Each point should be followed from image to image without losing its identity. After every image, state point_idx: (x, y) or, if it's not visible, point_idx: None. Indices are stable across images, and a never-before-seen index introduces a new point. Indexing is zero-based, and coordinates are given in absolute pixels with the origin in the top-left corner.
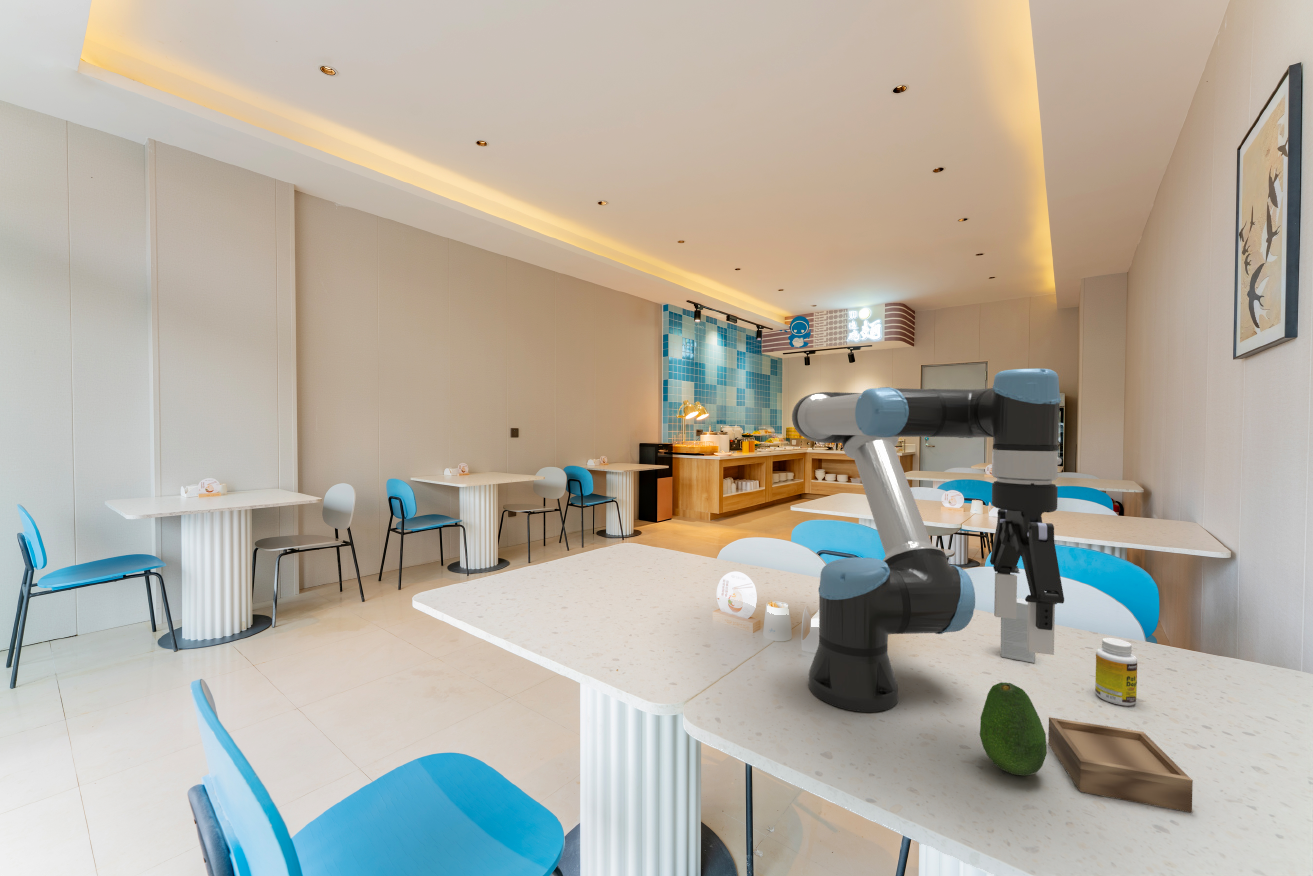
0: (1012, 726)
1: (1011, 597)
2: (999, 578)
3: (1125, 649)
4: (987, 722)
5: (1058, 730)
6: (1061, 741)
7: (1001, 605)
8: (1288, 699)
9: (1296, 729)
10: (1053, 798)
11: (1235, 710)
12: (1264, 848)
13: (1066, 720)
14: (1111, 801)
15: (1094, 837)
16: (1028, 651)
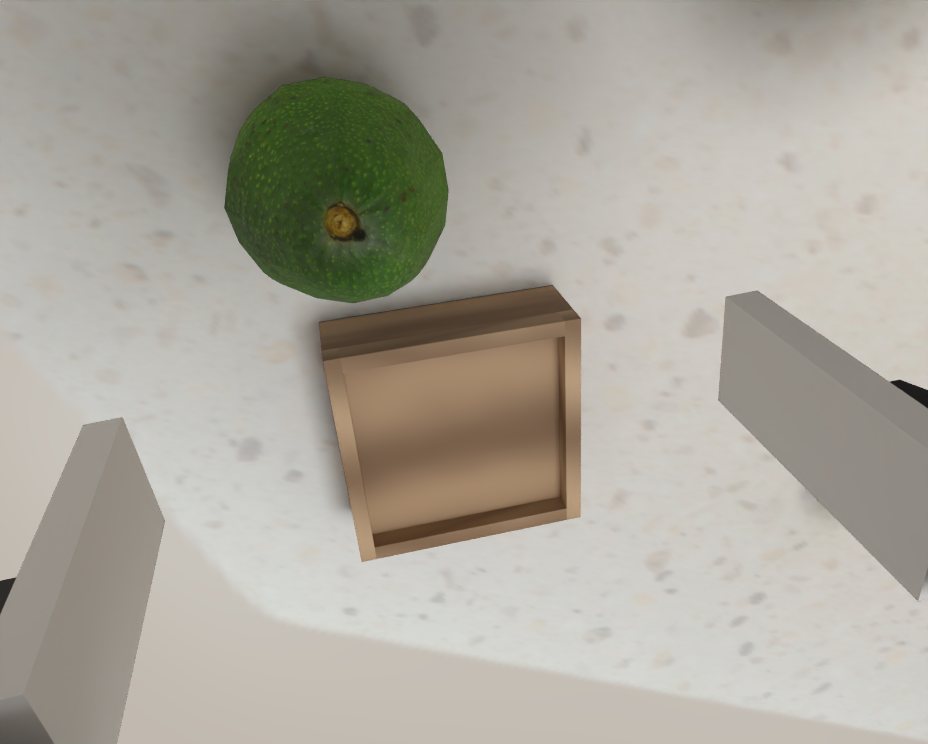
0: (242, 203)
1: (800, 452)
2: (916, 467)
3: None
4: (283, 112)
5: (498, 332)
6: (468, 327)
7: (768, 363)
8: (907, 722)
9: (783, 708)
10: (242, 254)
11: (844, 651)
12: (287, 585)
13: (577, 361)
14: (312, 380)
15: (107, 318)
16: (91, 423)
